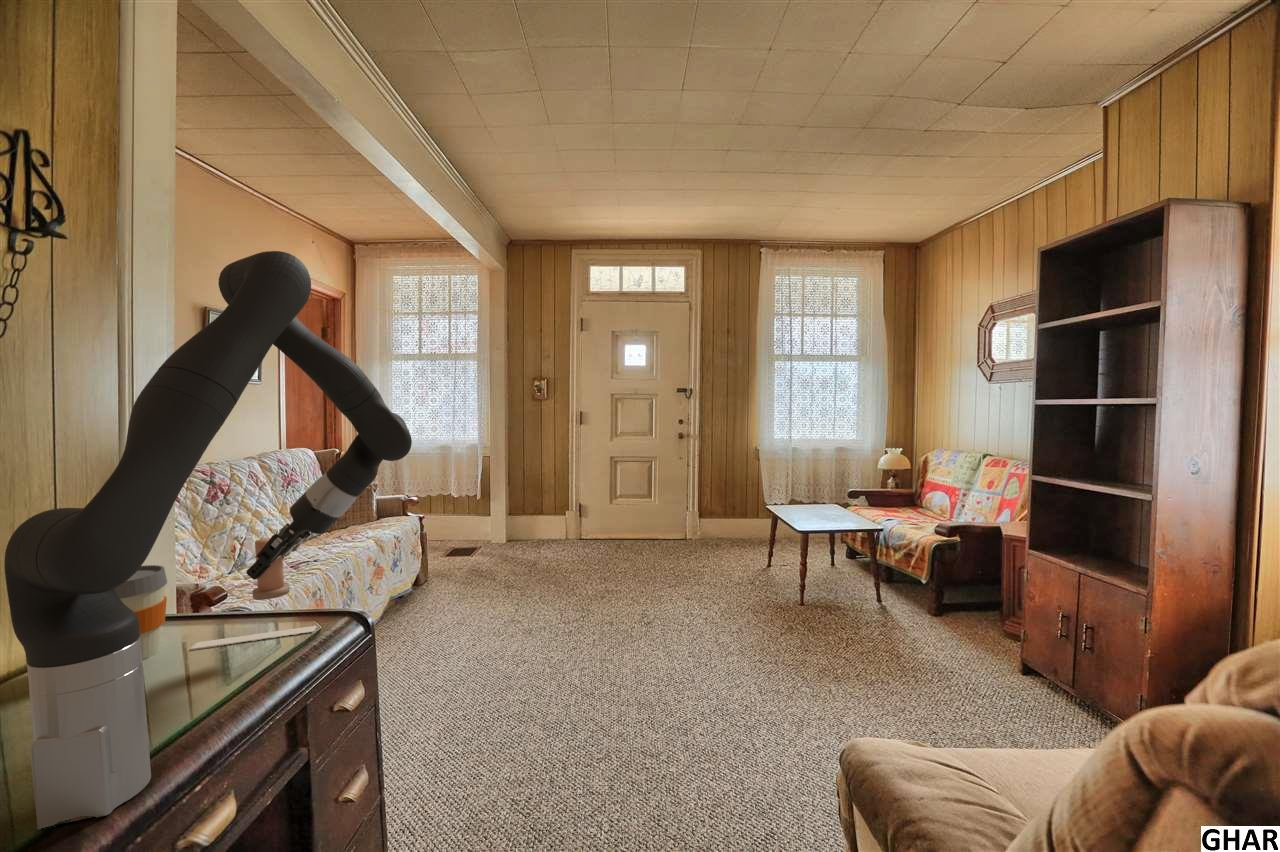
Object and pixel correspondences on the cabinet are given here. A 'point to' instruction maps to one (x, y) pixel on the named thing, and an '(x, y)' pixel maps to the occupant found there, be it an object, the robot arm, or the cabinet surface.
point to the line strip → (250, 637)
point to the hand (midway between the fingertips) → (258, 572)
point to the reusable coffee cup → (146, 604)
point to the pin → (270, 578)
